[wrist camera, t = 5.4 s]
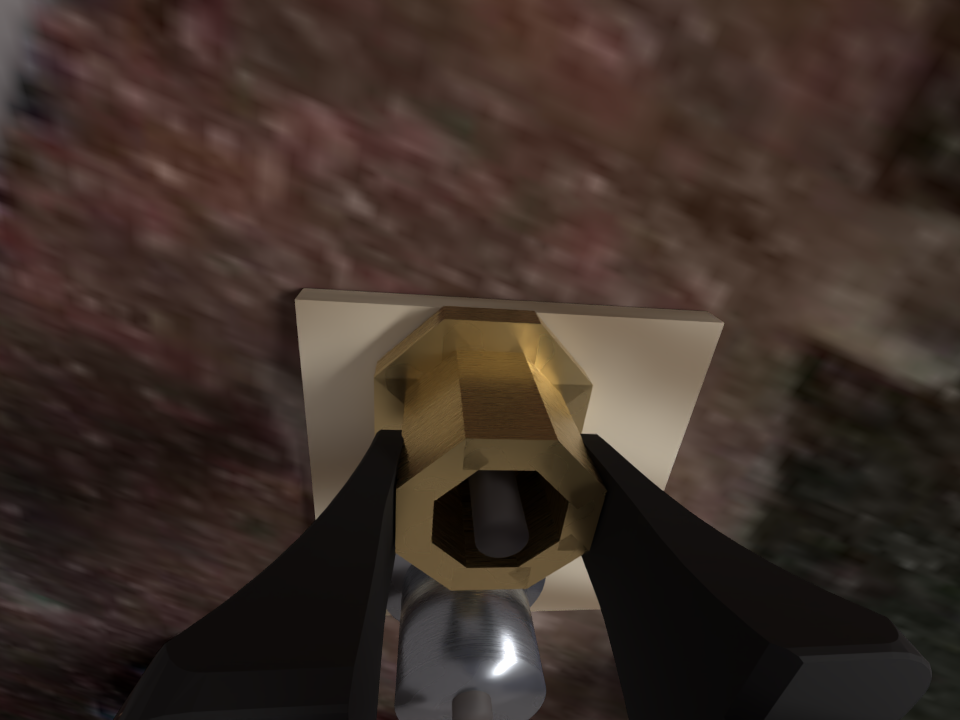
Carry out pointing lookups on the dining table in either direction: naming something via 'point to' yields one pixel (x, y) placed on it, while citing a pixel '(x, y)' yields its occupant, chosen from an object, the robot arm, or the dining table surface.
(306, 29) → the dining table surface
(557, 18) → the dining table surface
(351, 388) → the beige peg board
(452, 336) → the octagonal brass sleeve
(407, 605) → the flanged metal peg
